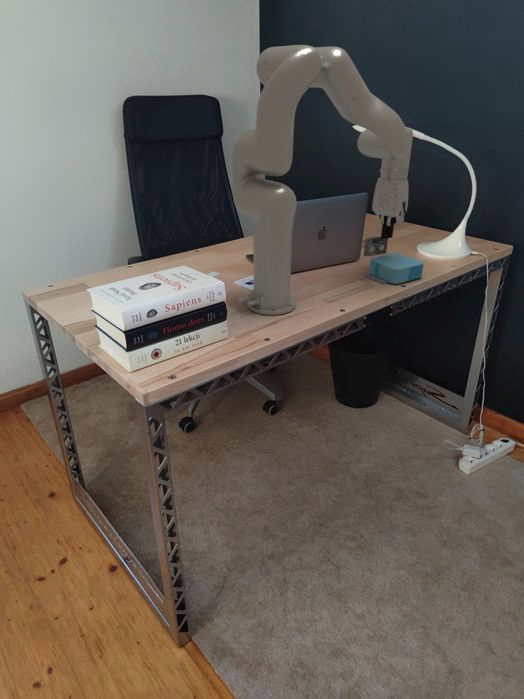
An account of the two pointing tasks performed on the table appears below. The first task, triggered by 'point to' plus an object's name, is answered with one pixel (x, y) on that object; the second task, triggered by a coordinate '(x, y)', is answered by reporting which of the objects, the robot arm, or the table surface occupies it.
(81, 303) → the table surface
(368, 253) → the mini dv tape
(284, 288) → the robot arm
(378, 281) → the mat
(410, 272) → the data package
